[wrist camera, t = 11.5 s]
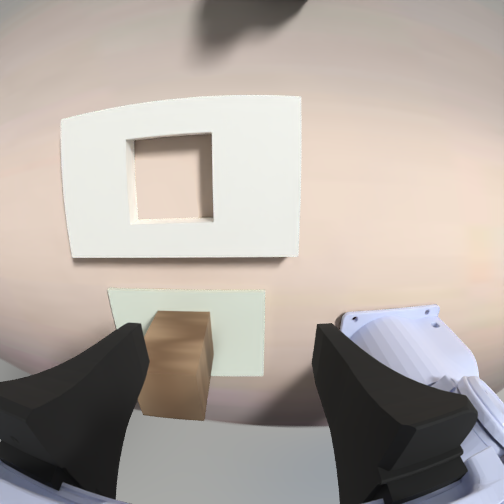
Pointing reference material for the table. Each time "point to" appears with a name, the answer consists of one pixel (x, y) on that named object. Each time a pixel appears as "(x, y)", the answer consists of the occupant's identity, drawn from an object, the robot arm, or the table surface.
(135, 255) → the white square-hole board
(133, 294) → the rubber mat
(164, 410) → the walnut plug
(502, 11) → the table surface
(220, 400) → the table surface
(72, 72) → the table surface
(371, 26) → the table surface
